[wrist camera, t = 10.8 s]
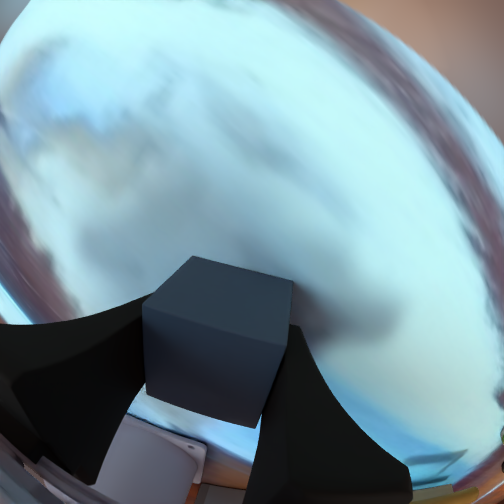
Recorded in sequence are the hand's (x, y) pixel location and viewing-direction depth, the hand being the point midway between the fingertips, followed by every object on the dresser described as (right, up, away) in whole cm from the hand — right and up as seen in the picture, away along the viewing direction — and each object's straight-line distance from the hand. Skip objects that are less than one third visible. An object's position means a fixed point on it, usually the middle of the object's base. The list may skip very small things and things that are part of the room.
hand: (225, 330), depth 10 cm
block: (0, 0, +1) cm, 1 cm away
